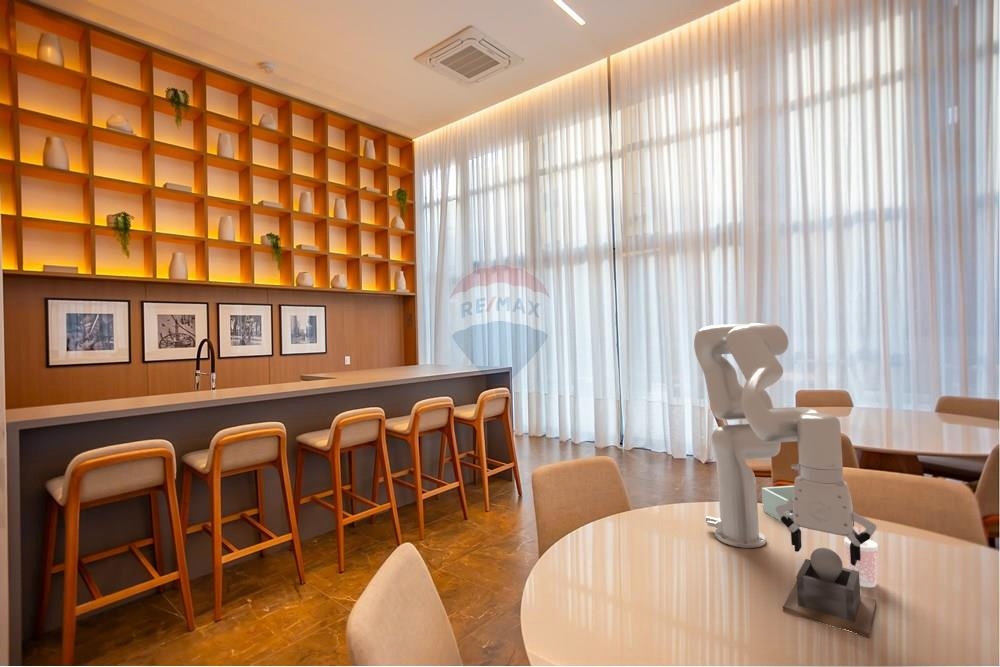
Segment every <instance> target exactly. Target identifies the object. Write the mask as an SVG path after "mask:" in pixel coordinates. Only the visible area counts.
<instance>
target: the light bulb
mask: <svg viewBox="0 0 1000 667" xmlns="http://www.w3.org/2000/svg"><path fill="white" fill-rule="evenodd" d="M809 558H810V560H811V564H812V567H813V568H814V570H815V571H816V573H817V574H818V576H819V577H820V580H824V581H828V582H832V583H834V582H835V580H836V579H837V577H838V576H839V575H840V573H841V572H842V568H844V567H843V561H842V559H841V557H840V556H839V554H838V553H836V551H834V550H833V549H830V548H827V547H818V548H816V549H813V551H812V552H811V554H810V557H809Z"/></svg>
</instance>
